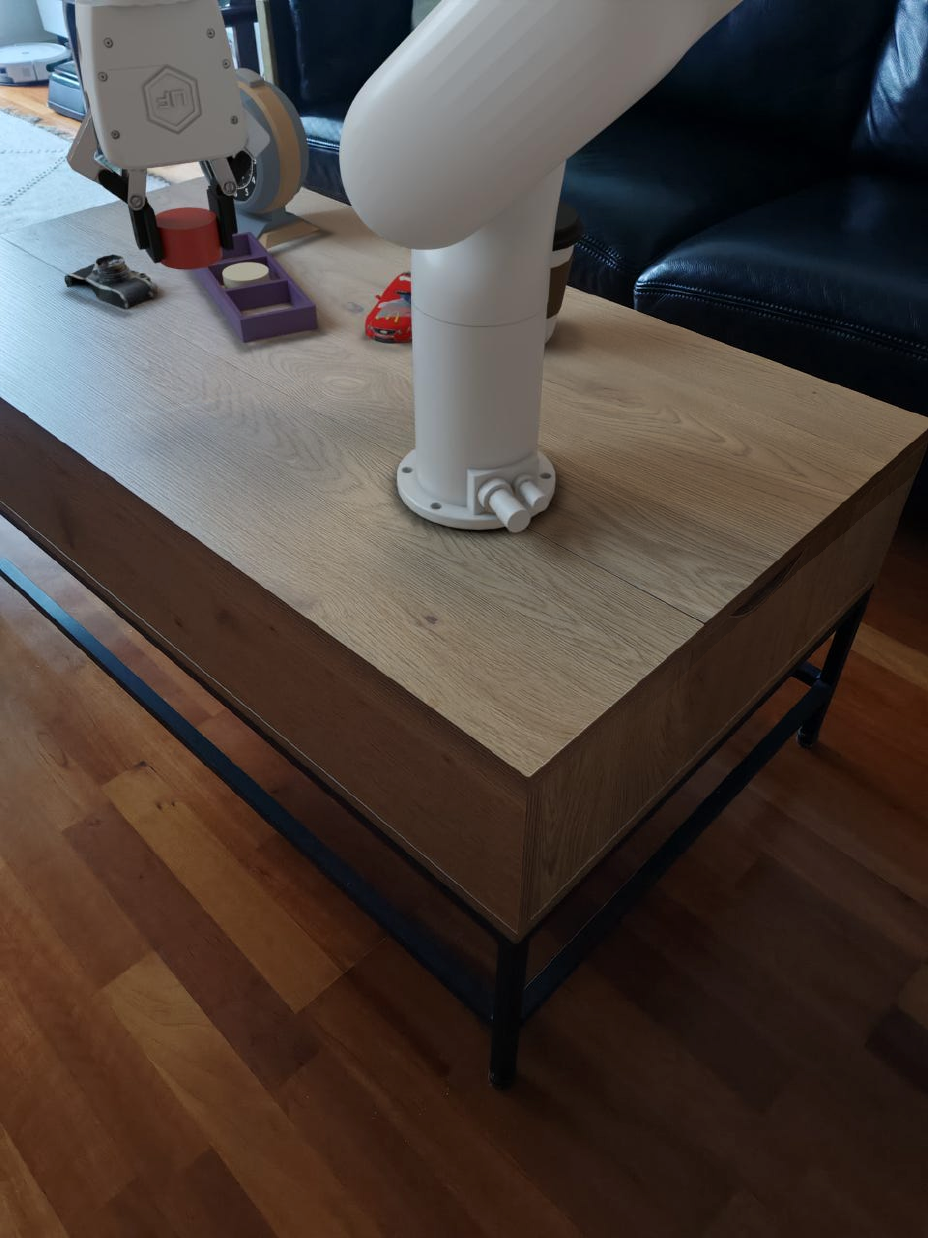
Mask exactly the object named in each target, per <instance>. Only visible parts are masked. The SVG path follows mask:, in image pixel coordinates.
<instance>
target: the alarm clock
mask: <svg viewBox="0 0 928 1238" xmlns="http://www.w3.org/2000/svg"><path fill="white" fill-rule="evenodd" d="M235 71H236V76H237V81H238V86H239V91H240V96H241V101H242V104H243V105H244V107H245V108H246V109H247V110H248V111H249V112H250V113H251V114H252V116H253V117H254V118H255V119H256V120H257V121H258V122H259V124H260V125H261V126H262V127H263V128H264V129H265V130H266V131H267V133H268V134H269V135H270V138H271V140H270V143H269V145H268V146H267V147H266V148H265V149H264V150H263V151H262V152H261V154H260V155H259V156H258V157H257V158H256V159H254V160H253V161H252V164H251V166H250V168H249V169H248V171H247V172H246V174H245V175H244V176H243V178H242V179H241V181H240V182H239V184H238V185H237V187H238V188H237V192H236V193H235V194H234V195H233V200H234V206H235V213H236V220H237V227H238V233H237V234H240V233H246V232H251V233H252V234H253V235H254V236H255V237H256V239H257V240H258V241H259V242H260V243H261V244H262V245H263V246H264V248H265V249H266V250H268V249H270V248H273V247H277V246H279V245H281V244H284V243H288V242H289V241H292V240H295V239H297V238H300V237H303V236H305V235H307V234H310V233H313V232H315V231H319V228H318V227H316V226H314V225H312V222H309V221H307V220H306V219H304V218H303V217H300V216H299V215H297V214H295V213H292V212H290V211H287V208H286V206H287V205H288V204H290V202H292V200H293V199H294V197H295V196H296V195H297V194H298V193H300V191H301V189H302V186H303V184H304V182H305V180H306V178H307V176H308V171H309V167H310V148H309V143H308V137H307V133H306V130H305V127H304V124H303V121H302V119H301V117H300V115H299V113H298V111H297V109H296V107H295V105H294V103H293V102H292V101H291V100H290V99H289V97H288V96H287V95H286V93H285V92H283V91H282V90H281V89H280V88H279V87H277V86H276V85H275V84H273V83H271V82H270V81H267V80H265V78H264V77H263V76H262V75H260V73H257V72H256V71H254V70H252V69H249V68H246V67H239V68H235ZM231 123H232V122H231ZM198 165H199V166H200V169H201V172H202V174H203V175H204V177H205V179H206V181H207V183H208V184H209V185H210V180H211V177H210V175H209V172H208V170H207V168H206V165H205V163H204V161H200V162H198ZM233 235H234V234H233Z"/></svg>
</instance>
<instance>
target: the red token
mask: <svg viewBox="0 0 928 1238" xmlns="http://www.w3.org/2000/svg"><path fill="white" fill-rule="evenodd" d="M155 217H156V222H157V227H158V232H159V237H160V242H161V247H162V253H163V258H164V260H162V262H161V263H160V264H161V265H163V266H164V267H165V268H166V267H167V268H169V269H174V270H183V271H184V270H192V269H198V268H204V267H207V266H210V265H213V264H215V263H217V262H220V261H222V260H221V258H222V248H221V242H220V236H219V229H218V223H217V217H216V214H215V213H214V212H212V211H210V210H209V209H207V208H204V207H203V208H202V207H197V206H196V207H195V206H192V207H190V206H189V207H188V206H185V207H175V208H170V209H166V210H163V211H160V212H158V213H157V214H155Z"/></svg>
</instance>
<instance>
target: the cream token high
mask: <svg viewBox="0 0 928 1238" xmlns="http://www.w3.org/2000/svg"><path fill="white" fill-rule="evenodd" d="M222 274H223V280H224V285H225V286H226V287H227V288H228V289H229V288H234V287H240V286H245V285H251V284H256V283H262V282H267V281H270V280H271V279H270V275H269V269H268V267H267V266H265V265H263V264H259V263H252V262H246V263H238V264H234V265H231V266H228V267H227V268H225V269H224V270H223V273H222Z"/></svg>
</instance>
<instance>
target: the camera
mask: <svg viewBox="0 0 928 1238" xmlns="http://www.w3.org/2000/svg"><path fill="white" fill-rule="evenodd" d="M63 279H64V283H65V285H66V288H69V287H71V286H73V285H76V284H78V283H81V282H83V281H86V282H87V283H88V284H89V286H90V287H91V290H92V291H93V293H94V295H95V298H97V299H98V300H99V301H101V302H104V303H106V304H108V305H111V306H113V307H116V308H119V309H121V310H128V309H130V308H132V307H135V306H137V305H139V304H142V303H144V302H146V301H149V300H151V299H153V298H155V297H156V292H157V291H158V290H159V287H158V284H157V283H156V282H152V279H151V277H150V276H149V275H148V274H146V273H145V272H139V271H137V270H134V269H130V267H128V265H127V264H126V261H125V258H124V257H123V256H122V255H117V254H114V253H112V254H109V255H103V256H101V257H98V258H97V259H96V260H95V262H94V263H92V264H90V265H88V266H86V267H83V268H80V269H78V270H76V271H74V272H72V273H71V272H69V273H68V274H65V275H64V277H63Z"/></svg>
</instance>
